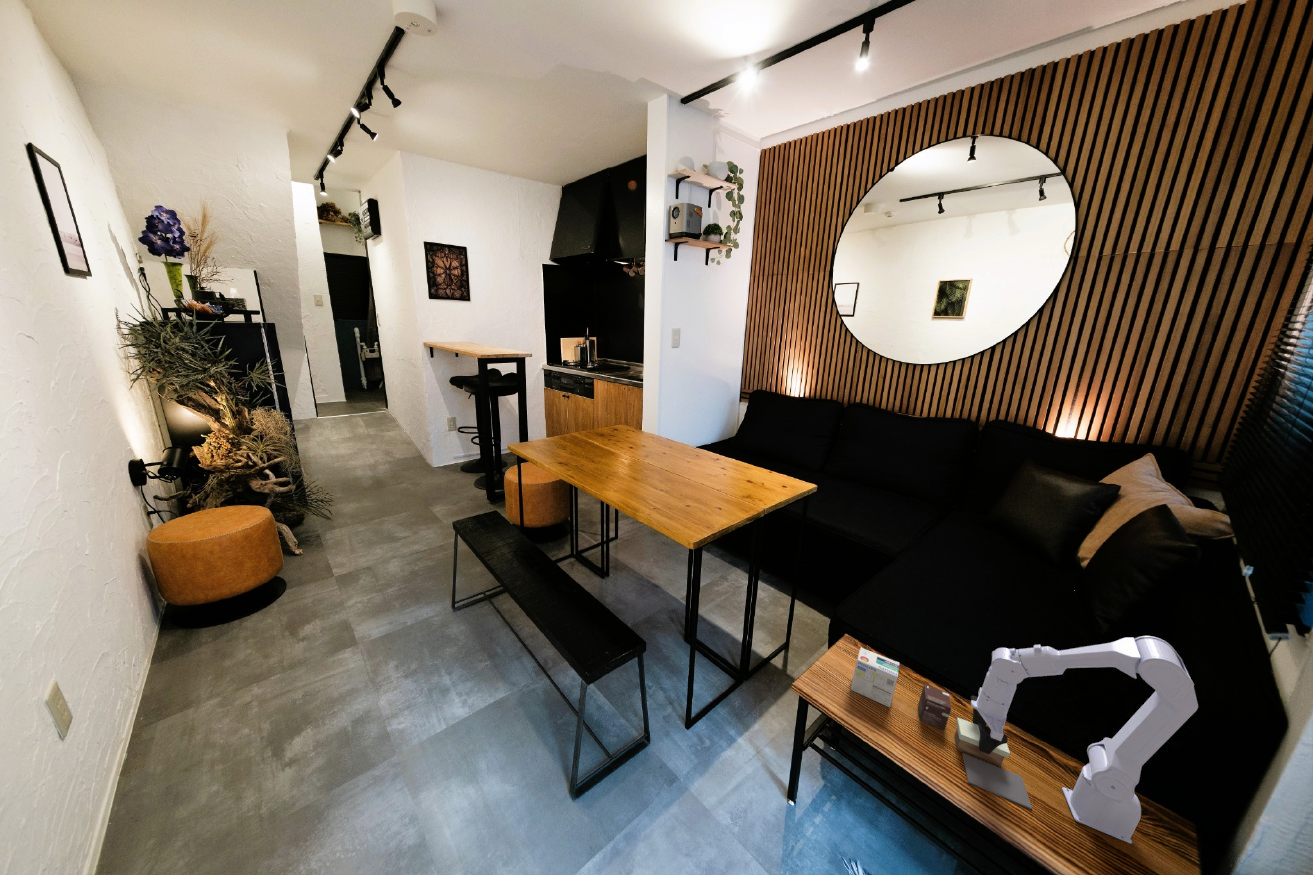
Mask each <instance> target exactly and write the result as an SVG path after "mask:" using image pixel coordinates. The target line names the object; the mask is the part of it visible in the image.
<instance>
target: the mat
mask: <svg viewBox="0 0 1313 875" xmlns="http://www.w3.org/2000/svg"><path fill="white" fill-rule="evenodd" d="M961 755H962V760H963V764H964V769H965V774H966V779H967V783H968V784H970V785H972V786H975V787H978V788H979V789H983V790H985V791H987V792H989V793H991V794H994V795H996V796H999V797H1001V798H1003V799H1005V800H1007V801H1010V802H1013V803H1015V804H1017V805H1019V806H1022V807H1024V808H1026V809H1029V810H1031V811H1032V810H1033V806H1032V803H1031V801H1030V797H1029V795H1028V794H1029V793H1028V792H1027V788H1026V786H1025V783H1024V779H1023V776H1020V775H1019V774H1016V773H1014V772H1012V771H1008V770H1006V769H1005V768H1002V767H1001V768H1000V767H997V766H995V765H992V764H990V763H987V762H985V761H982V760H980V759H977V758H975V757H972V756H970V755H967V754H965V753H962V754H961Z"/></svg>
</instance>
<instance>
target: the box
mask: <svg viewBox="0 0 1313 875" xmlns="http://www.w3.org/2000/svg"><path fill="white" fill-rule="evenodd" d="M950 698H951V697H950V693H949V692H947V691H944V690H941V689H939V688H937V687H934V686H931V685H928V684H926V683H924V684H923V686H922V690H921V694H920V696H919V700H918V704H917V705H918V706H917V707H918V708H917V709H918V716H919V717H918V718H919V721H921V722H924V723H926V724H929V725H931V726H933V727H936V728H938V729H940V730H944V731H945V729H946V727H947V723H948V720H949V717H950V714H951V711H952V704H951V699H950Z"/></svg>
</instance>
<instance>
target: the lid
mask: <svg viewBox="0 0 1313 875" xmlns="http://www.w3.org/2000/svg"><path fill="white" fill-rule="evenodd" d="M955 724H956V730H958V735H959V739H961V740H964V741H966V742H969V743H971V744H974V745H976V746H979V739H980V730H979V727H978V725H977V724H974V723H973V722H972V721H968V720H966V719H963V718H960V717H959V716H958V717H956V720H955ZM992 752H994V753H997V754H999V755H1002V756H1004V758H1007V759H1009V757H1010V754H1011V752H1010V749H1009V746H1008V742H1007V743H1005V744H1002V745H999V746H998V747H996V748H995V749H994V750H993V751H992Z"/></svg>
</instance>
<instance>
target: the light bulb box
mask: <svg viewBox="0 0 1313 875" xmlns="http://www.w3.org/2000/svg"><path fill="white" fill-rule="evenodd" d="M899 670H900V662H899V661H897V660H893V659H892V658H888V657H886V656H883V655H881V654H878V653H876V652H874V651H871V650H868V649H866V648H863V647H860V648H859V652H858V655H857V659H856V661H855V666H854V672H853V675H852V681H851V685H850V690H851V691H853V692H854V693H858V694H860V695H862V696H864V697H866V698H868V699H870V700H872V701H874V702H877V703H879V704H881V705H884V706H886V707H888V708H891V704H892V701H893V698H894V694H895V689H896V686H897V682H898V678H899Z"/></svg>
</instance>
